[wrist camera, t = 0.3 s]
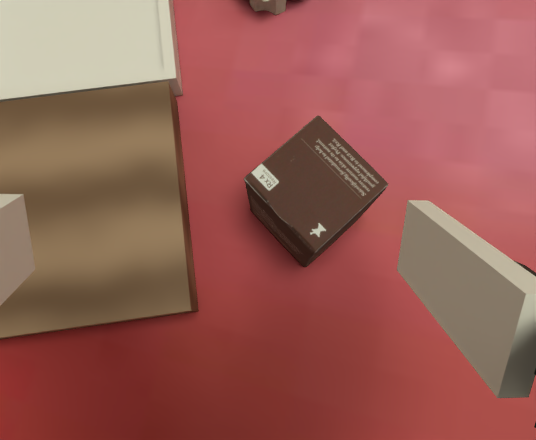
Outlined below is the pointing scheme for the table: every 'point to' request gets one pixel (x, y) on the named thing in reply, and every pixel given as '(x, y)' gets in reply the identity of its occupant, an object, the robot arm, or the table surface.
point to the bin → (85, 46)
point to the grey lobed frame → (269, 5)
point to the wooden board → (98, 208)
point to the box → (312, 190)
